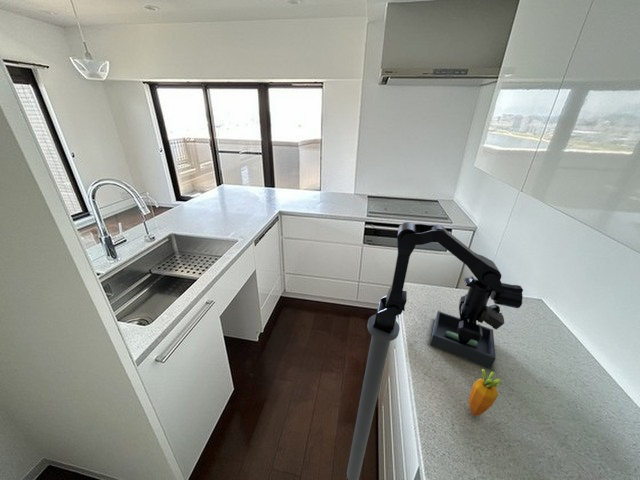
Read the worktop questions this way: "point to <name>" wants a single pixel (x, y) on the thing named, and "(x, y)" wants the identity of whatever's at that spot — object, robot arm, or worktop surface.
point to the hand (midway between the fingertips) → (462, 335)
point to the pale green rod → (455, 336)
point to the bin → (479, 354)
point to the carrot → (483, 394)
